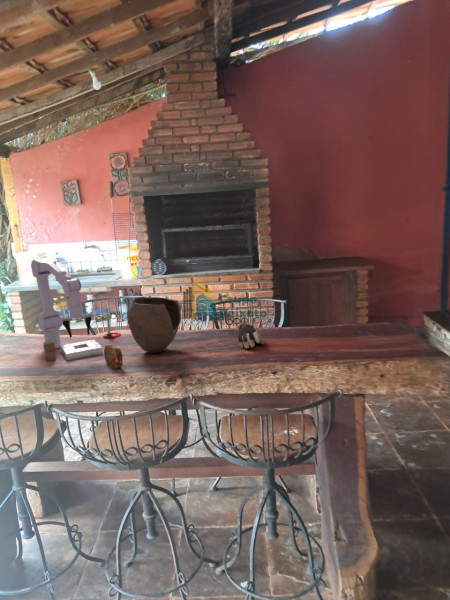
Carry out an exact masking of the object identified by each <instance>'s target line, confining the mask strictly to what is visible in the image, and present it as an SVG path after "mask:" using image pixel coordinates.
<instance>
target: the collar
mask: <svg viewBox="0 0 450 600" xmlns="http://www.w3.org/2000/svg"><path fill="white" fill-rule="evenodd" d="M60 347H61V348H60V352H61V354H62V355H63V357H64V358H65V360H66V361H70V360H76V359H80V358H85V357H86V358H87V357H92V356H96V355H103V354H104V349H103V346H101V345H100V343H98V342H97V341H96V340H95V339H90V340H89V339H88V340H84V341H83V340H82V341H78V342H74V343H67V344H62V345H60Z"/></svg>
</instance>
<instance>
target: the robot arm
mask: <svg viewBox="0 0 450 600" xmlns="http://www.w3.org/2000/svg"><path fill="white" fill-rule="evenodd" d="M30 266H31V267H30V269H31V272H32V277H34V278H35V279H36V283H37V289H38V293H39V298H40V303H41V307H42V311H41V312H40V313H39V314H38V316H37V319H38V323H37V324H38V328H39V329H40V330H41V332H42V333H43V339H44V342H48V341H53V342H54V346H55V350H56V349H61V347H60V345H63V344H62V343H61V335H60V329H61V327H62V326H63V327H64V328H65V330H66V331H67V333H68V335H69V338H72V337H73V335H72V330H71V325H70V324H71V323H70V322H72V321H78V320H84V319H85V323H86V332H87V335H90V327H91V322H92V318H95V315H94V312H91V313H90V312H89V313H84V311H83V306H82V300H81V293H80V291H81V290H82V283H81V281H80V279H79V278H77V277H76V278H75V277H73V276H71V275H70V273H68V272H67V271H66V270H61V268H60V267H58V265H57V262H56V259H55V258H54V257H46V258H37V259H32V260H31V263H30ZM50 275H53V276H54V279H55V281H56V282H57V283H58V284H59V285H61V287H62V291H63V293H64V296H65V297H66V302H67V307H68V314H69V316H63V317H61V315H60V312H59V311H58V310H55V309H54V304H53V299H52V294H51V289H50V283H49V276H50ZM43 347H44V344H43Z"/></svg>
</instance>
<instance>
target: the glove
mask: <svg viewBox="0 0 450 600" xmlns="http://www.w3.org/2000/svg"><path fill="white" fill-rule="evenodd" d="M237 330H238V332H237V340H238V344H239V347H240V346H244V347H245V348H249V349H250V348H253V349H254V348H255V346H256V344H255V343H257V344H260V343H264V344H265V340H264V339H263V337H262V335H261V333H260V332H259V331H258V330H257V329H256V328H255V326H253V325H252V324H250V323H249V324H248V323H243V322H241V323H239V324H238V326H237ZM245 348H244V349H245Z"/></svg>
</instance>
